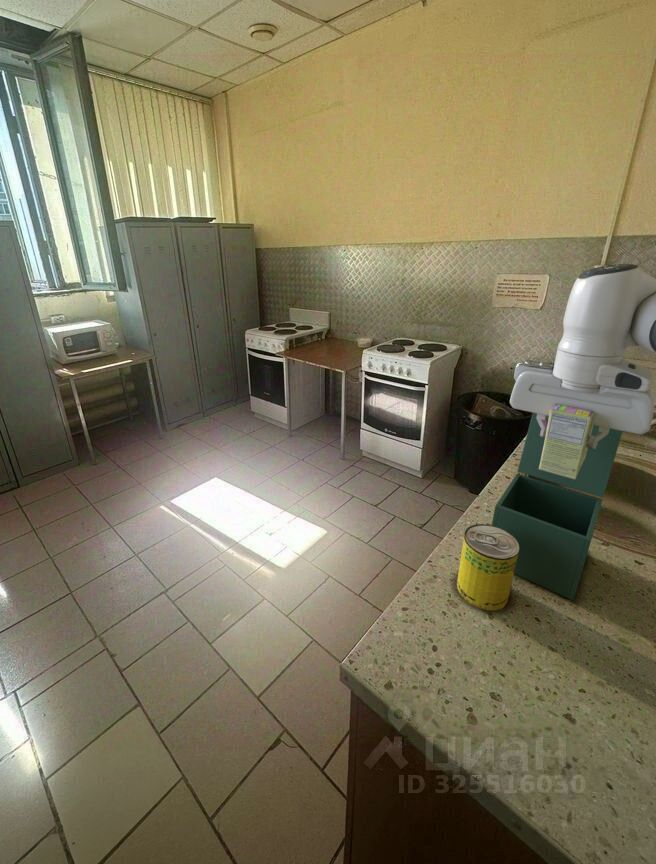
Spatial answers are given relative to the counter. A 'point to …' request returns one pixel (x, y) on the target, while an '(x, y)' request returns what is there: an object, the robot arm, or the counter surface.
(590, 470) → the lid
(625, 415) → the robot arm
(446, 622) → the counter surface
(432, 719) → the counter surface
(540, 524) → the chest
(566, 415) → the box
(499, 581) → the yellow tin can
